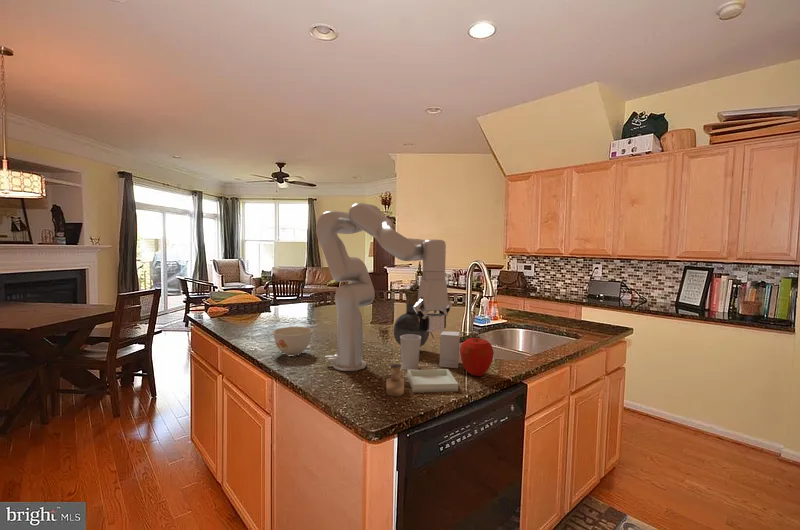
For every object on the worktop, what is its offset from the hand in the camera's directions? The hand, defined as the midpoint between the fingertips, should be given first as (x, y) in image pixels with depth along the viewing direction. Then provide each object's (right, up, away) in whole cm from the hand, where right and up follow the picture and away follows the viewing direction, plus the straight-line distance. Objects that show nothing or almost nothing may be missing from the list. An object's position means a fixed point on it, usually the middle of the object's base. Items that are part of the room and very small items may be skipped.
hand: (432, 328), depth 128 cm
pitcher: (-5, -17, +40) cm, 43 cm away
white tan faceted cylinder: (-13, -19, -7) cm, 24 cm away
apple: (+17, -19, +11) cm, 27 cm away
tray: (0, -19, +1) cm, 19 cm away
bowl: (-56, -16, +32) cm, 67 cm away
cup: (-7, -18, +17) cm, 26 cm away
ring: (0, 0, 0) cm, 0 cm away
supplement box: (+8, -18, +22) cm, 30 cm away
